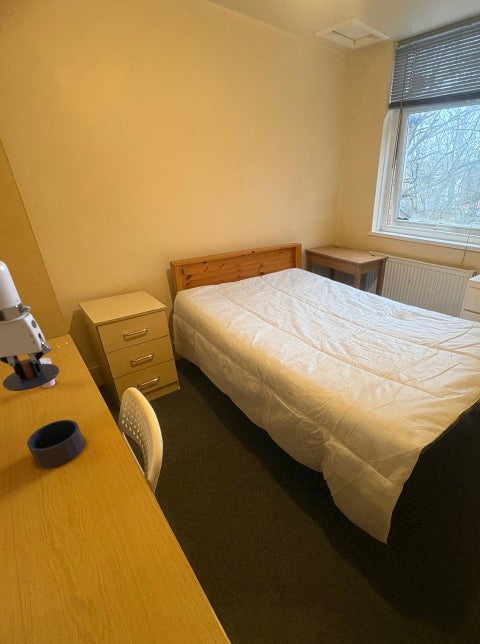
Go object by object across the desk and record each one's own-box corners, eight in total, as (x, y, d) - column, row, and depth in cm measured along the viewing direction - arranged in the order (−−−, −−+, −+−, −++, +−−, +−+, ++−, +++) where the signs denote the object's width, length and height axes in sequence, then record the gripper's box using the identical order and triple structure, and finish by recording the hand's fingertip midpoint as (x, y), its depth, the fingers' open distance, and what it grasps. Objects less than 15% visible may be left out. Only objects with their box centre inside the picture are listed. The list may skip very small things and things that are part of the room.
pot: (30, 473, 83) (21, 455, 80) (42, 443, 92) (34, 425, 89) (81, 460, 86) (73, 442, 84) (87, 432, 96) (81, 415, 93)
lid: (-4, 397, 79) (-14, 378, 77) (14, 371, 89) (6, 354, 87) (53, 387, 84) (46, 369, 81) (64, 364, 93) (58, 347, 91)
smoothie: (46, 391, 113) (31, 357, 106) (33, 387, 115) (18, 354, 108) (63, 381, 118) (50, 348, 111) (51, 378, 120) (38, 345, 113)
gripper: (48, 303, 83) (69, 362, 92) (-32, 310, 78) (-1, 373, 86) (40, 313, 77) (63, 377, 86) (-48, 323, 72) (-13, 389, 80)
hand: (31, 374), depth 86 cm, fingers closed on lid, 2 cm apart
